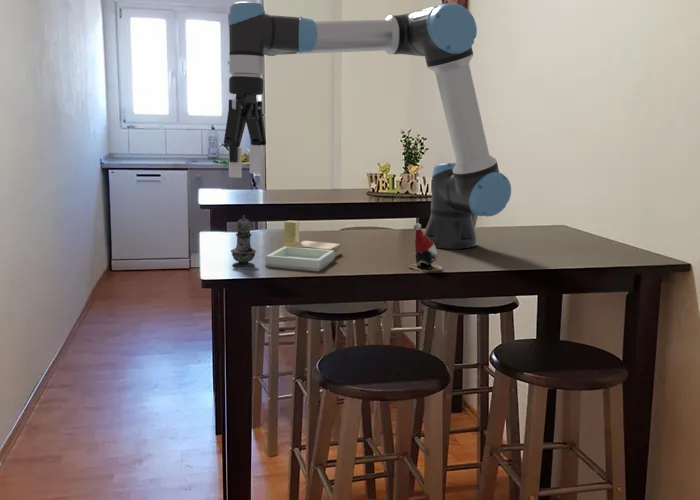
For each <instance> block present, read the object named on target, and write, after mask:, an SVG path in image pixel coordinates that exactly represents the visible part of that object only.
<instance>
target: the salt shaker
mask: <svg viewBox="0 0 700 500" xmlns="http://www.w3.org/2000/svg"><path fill="white" fill-rule="evenodd" d="M236 227H237V230H236V231H237V233H235V236H236V246H235V248H233V249H231V250H230V252H231V255H232V258H233V259H234V261H236V262H234V263H232V265H231V267H233V268H236V269H251V268H254V267H255V266H256V265H255V264H254V263H253V262H251V261H252V260H253V259H255V256H256V253H257V250H256V249H253V248H252V246H251V236H252V233H251V221H250V220H249V219H248V218H246V216H245V214H243V215H242V218H241V219H239V220H237V224H236Z"/></svg>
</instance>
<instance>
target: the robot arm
mask: <svg viewBox="0 0 700 500" xmlns="http://www.w3.org/2000/svg"><path fill="white" fill-rule="evenodd" d="M228 28H229V29H228V30H229V31H228V35H229V37H228V38H229V39H228V41H229V42H228V43H229V60H227V64H228V65H229V66H228V67H229V71H228V72H229V74H230V75H231V76H229V77H230V78H229V77H228V78H229V79H228V93H230V94H232V95H235V98H230V99H229V98H228V112H227V119H226V125H225V131H224V139H223V145H224V146H223V147H225V148H228V178H235V179H236V178H237V179H240V178H241V179H242V177H243V176H242V175H243V174H242V173H243V172H242V169H243V166H242V165H243V164H242V163H243V161H242V160H243V159H242V158H243V157H242V156H243V153H242V152H243V151H242V150H243V149H242V147H240V146H241V143H242V139H243V135H244V133H245V132H244V131H245V129H246V128H245V127H247V131H248V134H249V138H250V143H251V144H249V174H255V175H256V174H259V175H261V174H262V169H263V167H262V156H263V155H262V152H263V149H262V148H263V147H262V146H266V145H267V144H266V143H267V140H266V131H265V129H266V128H265V123H264V116H263V101H262V100H257V96H262V95H263V94H264V79H263V77H262V76H264V75H265V72H264V71H265V68H264V67H265V66H264V65H265V64H264V63H265V60H264V59H265V57H264V56H268V57H274V56H278V55H279V56H280V55H281V56H282V55H284V56H285V55H299V54H301V55H302V54H305V55H306V54H326V53H352V52H354V53H356V52H357V53H358V52H378V51H381V52H382V51H385V53H387V54H388V55H405V56H407V55H408V56H416V57H417V56H419V57H424V58H425V62H426V67H427V69H430V70H431V71H433V73H434V74H435V77H436V82H437V86H438V87H437V88H438V90H439V94H440V95H439V96H440V100H441V104H442V106H443V107H442V108H443V112H444V117H445V119H446V124H447V128H448V133H449V136H450V141H451V145H452V149H453V155H454V158H455V161H456V162H445V163H444V162H443V163H438V164H436V165H434V167H433V171H432V177H431V180H432V181H431V186H432V187H431V203H430V217H429V219H428V222H427V225H426V227H425V229H424V233H423V234H424V235H425V236H426V237H427V238H428V239H429V240H430V241H433V242H434V245H435V247H436V248H438V249H446V250H447V249H451V250H463V249H462V248H468V249H471V248H470V247H474V246H476V247H477V243H478V238H477V234H476V230H475V226H474V222H473V215H476V216H478V217H494V216H496V215H498V214H500V213H501V212H502V211H504V209H505V208H506V207H507V205H508V203H509V202H510V200H511V195H512V186H511V182H510V180H509V178H508V177H507V176H506V175H505V174H503V173H501V172H500V170H499V164H498V161H497V159H496V158H495V157H493V156H491V155H490V152H489V147H488V144H487V139H486V135H485V129H484V124H483V121H482V116H481V112H480V107H479V102H478V98H477V94H476V90H475V89H476V88H475V85H474V81H473V76H472V70H471V67H470V66H471V65H470V62H471V60H472V58H473V57H474V50H473V47H472V46H473V45H474V44H475V39H476V38H477V34H478V33H477V31H478V30H477V29H478V27H477V23H476V20H475V17H474V16H473V14H472V12H471V11H470V10H469V9H468V8H466V7H464V6H463V5H462V4H458V3H454V2H453V3H446V2H445V3H441V4H440V3H439V4H438V5H435V6H431V7H426V8H421V9H418V10H416V11H412V12H408V13H404V14H399V15H397V14H396V15H393V14H392V15H387V16H386V17H385V19H370V20H369V19H365V20H364V19H363V20H325V21H324V20H320V21H318V20H317V21H314V19H312V18H306V17H303V16H300V17H297V16H285V15H275V14H274V15H272V14H269V13H266V11H265V6H264V5H263V4H262V3H259V2H253V1H237V2H234V3H232V4H231V5H230V9H229V21H228ZM474 248H475V247H474Z"/></svg>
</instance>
